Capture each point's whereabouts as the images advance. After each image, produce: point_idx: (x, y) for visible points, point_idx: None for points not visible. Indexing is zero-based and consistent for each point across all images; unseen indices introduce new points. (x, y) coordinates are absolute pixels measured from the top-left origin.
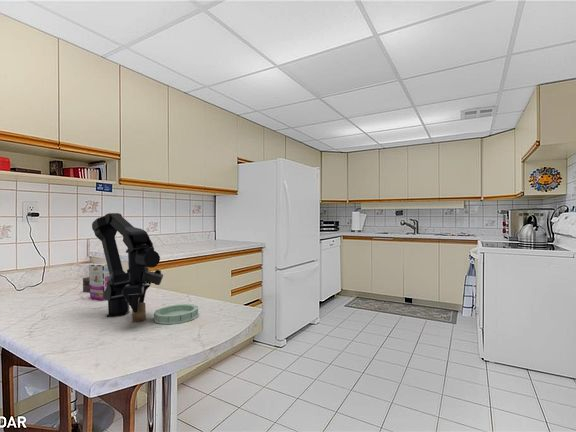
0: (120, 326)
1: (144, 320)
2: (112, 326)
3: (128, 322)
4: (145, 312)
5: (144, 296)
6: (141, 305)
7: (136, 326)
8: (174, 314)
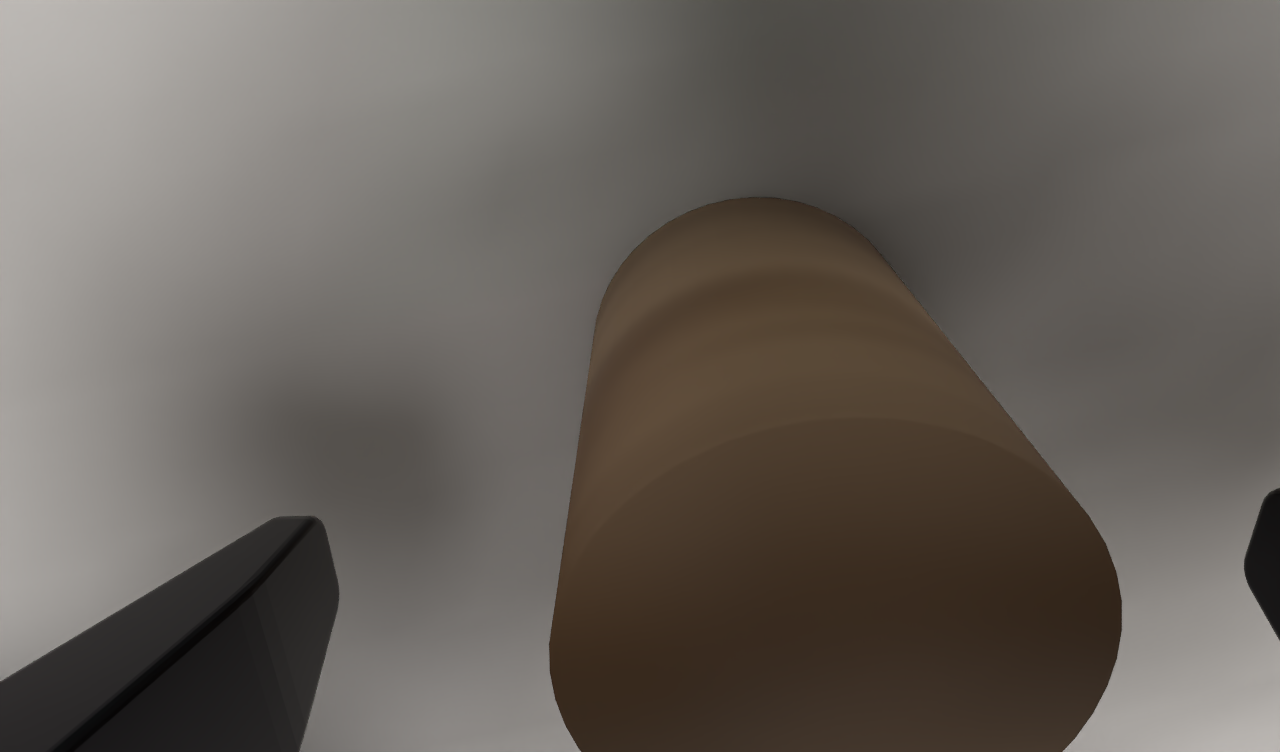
0: None
1: (831, 216)
2: None
3: None
4: (796, 263)
5: (60, 734)
6: (1081, 507)
7: (1234, 303)
8: None
